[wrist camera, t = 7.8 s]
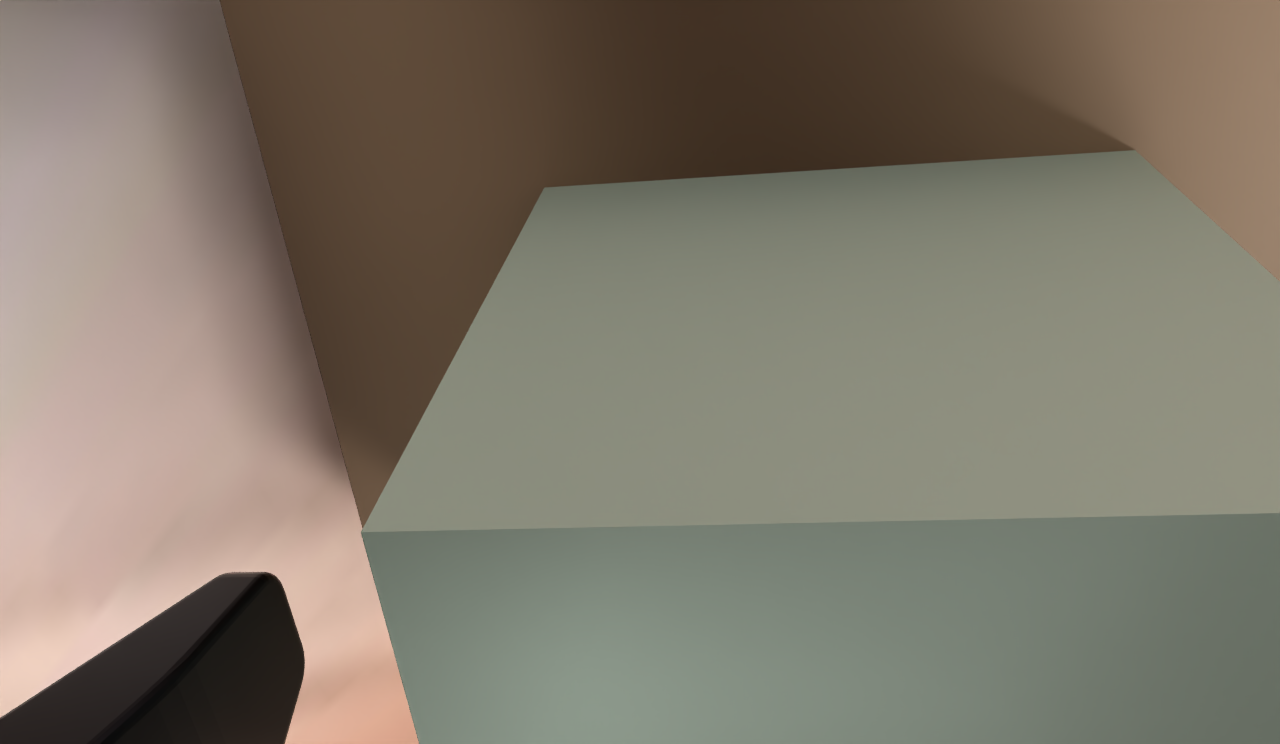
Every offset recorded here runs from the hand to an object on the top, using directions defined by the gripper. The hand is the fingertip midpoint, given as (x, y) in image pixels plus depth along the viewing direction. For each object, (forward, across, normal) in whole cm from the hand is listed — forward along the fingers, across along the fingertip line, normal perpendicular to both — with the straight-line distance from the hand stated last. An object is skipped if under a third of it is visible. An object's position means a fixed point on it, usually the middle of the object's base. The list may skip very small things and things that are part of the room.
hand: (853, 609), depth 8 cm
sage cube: (+3, 0, 0) cm, 3 cm away
